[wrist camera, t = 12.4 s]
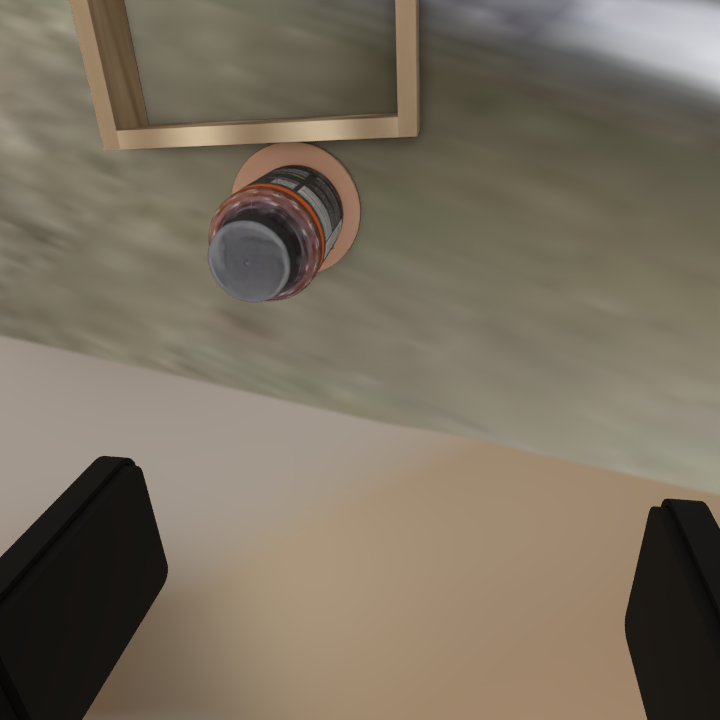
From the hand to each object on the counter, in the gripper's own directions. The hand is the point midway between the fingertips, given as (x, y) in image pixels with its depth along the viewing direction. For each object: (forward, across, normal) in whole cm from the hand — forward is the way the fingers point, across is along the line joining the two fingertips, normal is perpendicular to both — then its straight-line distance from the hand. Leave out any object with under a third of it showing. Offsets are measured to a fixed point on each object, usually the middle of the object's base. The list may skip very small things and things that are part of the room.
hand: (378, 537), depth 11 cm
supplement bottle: (+28, +9, 0) cm, 30 cm away
